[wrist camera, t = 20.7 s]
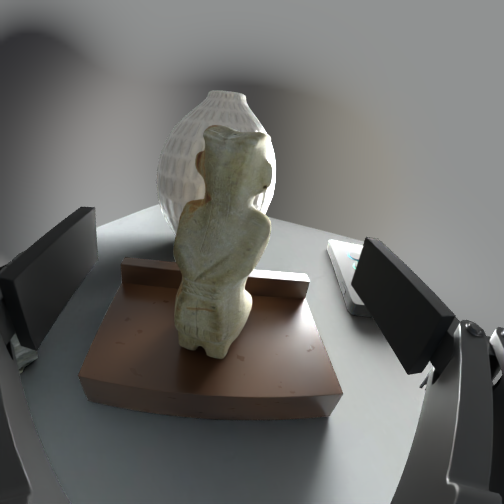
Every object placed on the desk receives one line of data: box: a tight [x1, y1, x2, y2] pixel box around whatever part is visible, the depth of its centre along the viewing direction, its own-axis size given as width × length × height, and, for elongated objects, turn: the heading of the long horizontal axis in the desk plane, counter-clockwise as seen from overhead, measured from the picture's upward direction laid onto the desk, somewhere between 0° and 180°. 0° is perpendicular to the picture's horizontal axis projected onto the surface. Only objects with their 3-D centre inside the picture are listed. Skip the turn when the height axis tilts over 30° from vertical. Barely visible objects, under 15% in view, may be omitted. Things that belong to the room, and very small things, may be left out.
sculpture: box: [173, 125, 273, 359], centre depth 19 cm, size 6×7×15 cm
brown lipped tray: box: [78, 257, 343, 420], centre depth 23 cm, size 18×14×5 cm
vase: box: [157, 91, 276, 236], centre depth 39 cm, size 16×16×22 cm
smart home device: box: [327, 239, 372, 317], centre depth 41 cm, size 8×2×20 cm
